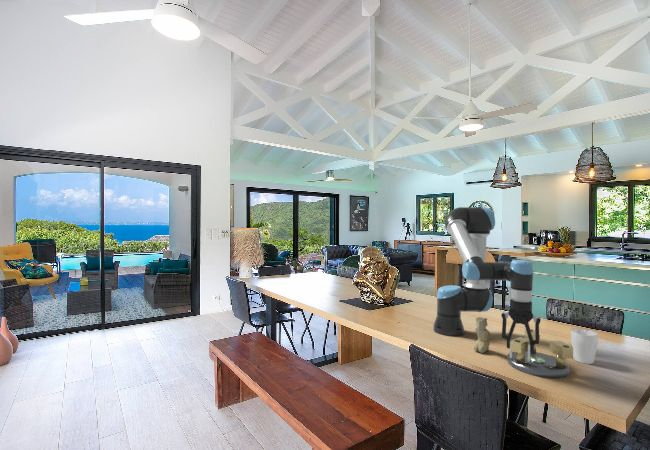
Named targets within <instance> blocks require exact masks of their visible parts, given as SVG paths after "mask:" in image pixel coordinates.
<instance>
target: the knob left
mask: <svg viewBox="0 0 650 450" xmlns="http://www.w3.org/2000/svg"><path fill="white" fill-rule="evenodd" d="M528 343H530V341H529V339H525V337H522V336H518V337H515V338H513V339H511V351H512V352H516V362H517V363H520V364H524V363H525V352H527V351H528Z"/></svg>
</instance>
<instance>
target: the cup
mask: <svg viewBox="0 0 650 450" xmlns="http://www.w3.org/2000/svg"><path fill="white" fill-rule="evenodd" d="M598 336H599V335H598V333H597V332H595V331H593V330H589V329H582V328H572V329H571V331H570V342H571V347H573V360H574V361H576V362H578V363H580V364H587V365H591V364H594V363H595V358H596V353H597V347H598V344H599V343H598V342H599V339H598Z"/></svg>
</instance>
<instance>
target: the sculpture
mask: <svg viewBox="0 0 650 450" xmlns="http://www.w3.org/2000/svg"><path fill="white" fill-rule="evenodd" d="M475 321H476V322H475V326H476V327H475V329H474V331H475V333H476V335H477V339H476V341H475V343H474V345H473V350H474V351H475V352H479V353H481V354H482V353H483V354H484V353H485V352H489V350H490V344H491V343H490V336H491V333H490V331H489V330H488V329H487V326H488V325H489V324H488V322H487V321H488V318H486V317H482V316H478V317H476V318H475Z"/></svg>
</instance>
